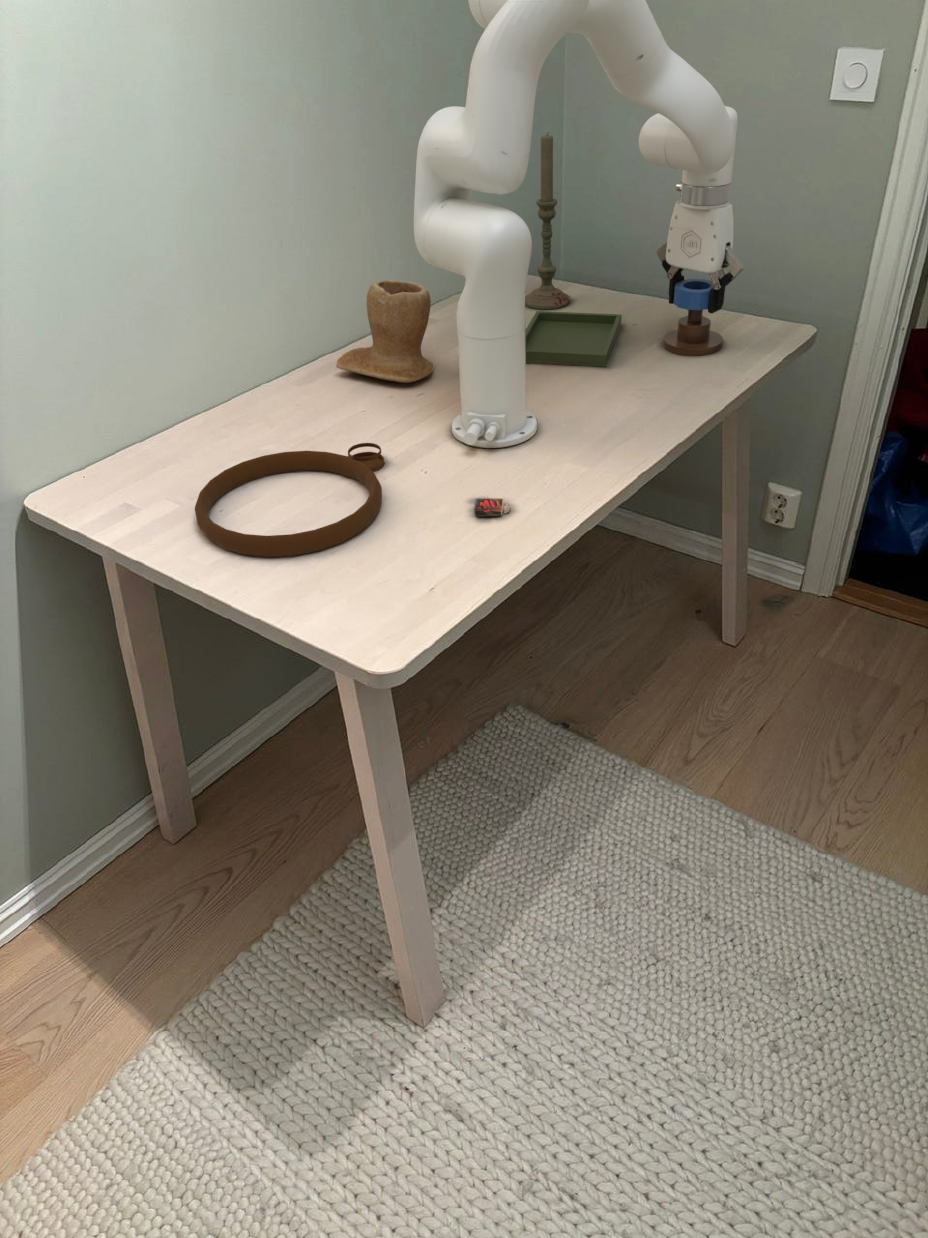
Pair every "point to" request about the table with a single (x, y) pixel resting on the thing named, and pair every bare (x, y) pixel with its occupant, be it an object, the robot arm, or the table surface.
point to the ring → (692, 294)
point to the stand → (693, 336)
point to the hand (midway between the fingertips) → (695, 305)
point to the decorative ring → (348, 466)
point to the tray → (571, 338)
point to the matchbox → (490, 506)
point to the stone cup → (393, 333)
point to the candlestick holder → (546, 237)
